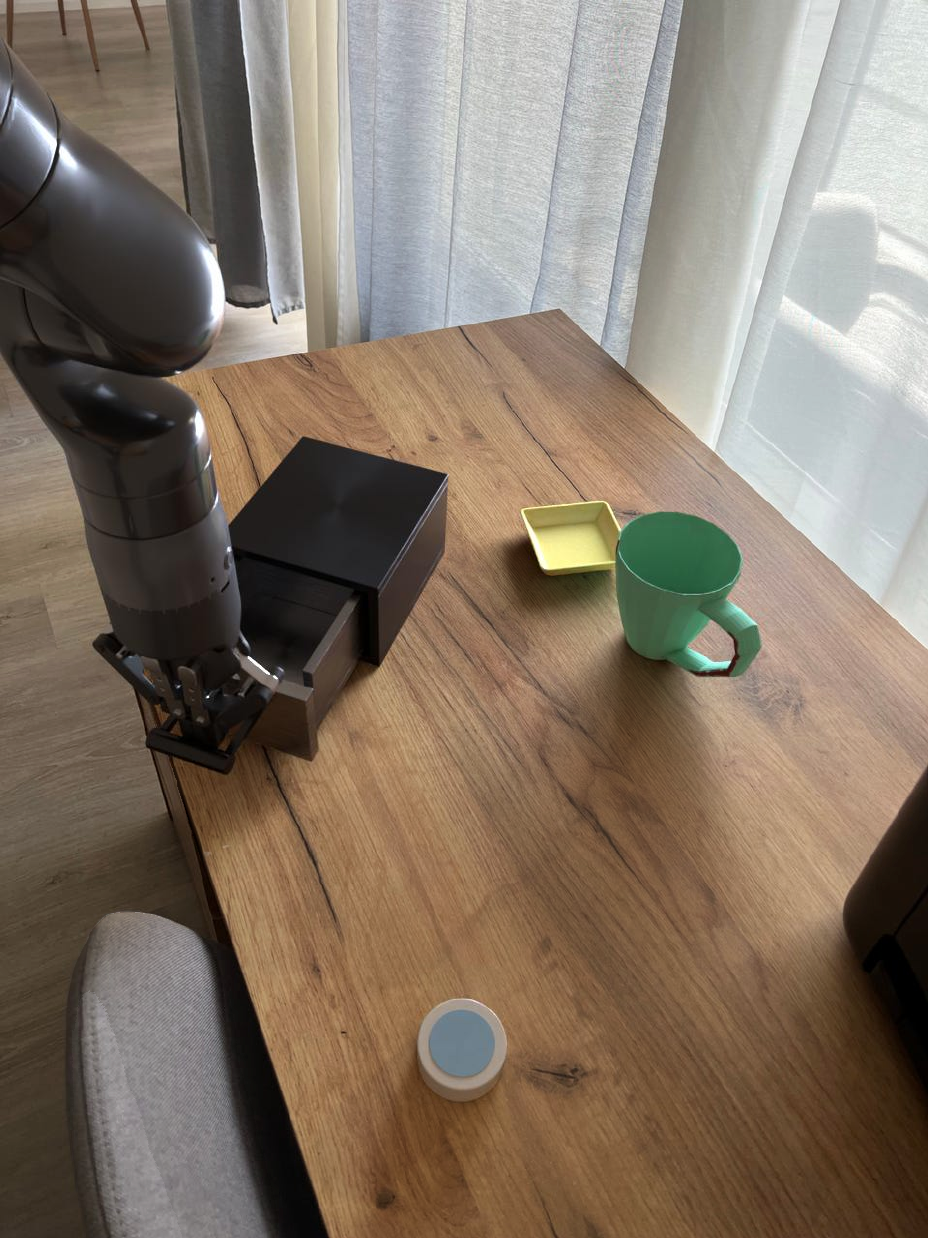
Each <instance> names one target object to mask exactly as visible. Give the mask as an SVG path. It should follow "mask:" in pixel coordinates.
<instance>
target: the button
mask: <svg viewBox="0 0 928 1238" xmlns="http://www.w3.org/2000/svg"><path fill="white" fill-rule="evenodd" d="M416 1040H417V1041H416V1042H417V1043H416V1063H417V1068H418V1071H419V1074H420V1076H421V1078H422V1080H423V1081H424V1083H425V1084H426V1085H427V1087H428V1088H429V1089H430V1090H431V1091H432V1092H434V1093H435V1094H436V1095H438V1096H439V1097H441V1098H443V1099H445V1100H448V1101H452V1102H460V1103H461V1102H470V1101H475V1100H477V1099H479V1098H482V1097H483V1096H485V1095H486V1094H488V1093H489V1092H490V1091H491V1090H492V1089H493V1088H494V1086H495V1085H496V1084H497V1083H498V1081H499V1080H500V1077H501V1075H502V1072H503V1069H504V1065H505V1061H506V1056H507V1050H508V1041H507V1035H506V1031H505V1027H504V1026H503V1023H502V1022H501V1020H500V1019H499V1017H498V1016H497V1014H495V1012H494V1011H492V1009H491V1008H489V1007H488V1006H486V1005H485V1004H484V1003H482V1002H479V1001H477V1000H474V999H469V998H453V999H449V1000H446V1001H444V1002H441V1003H439V1004H438V1005H436V1006H435V1007H434V1008H433V1009H432V1010H430V1011H429V1012H428V1013H427V1015H425V1017H424V1019H423V1021H422V1022H421V1025H420V1027H419V1030H418V1034H417V1039H416Z"/></svg>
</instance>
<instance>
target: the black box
mask: <svg viewBox="0 0 928 1238" xmlns="http://www.w3.org/2000/svg"><path fill="white" fill-rule="evenodd" d="M448 494H449V474H448V473H446V472H442V471H438V470H434V469H431V468H427V467H422V466H419V465H416V464H411V463H407V462H403V461H401V460H400V461H399V460H396V459H392V458H388V457H384V456H381V455H377V454H373V453H369V452H366V451H361V450H358V449H354V448H351V447H347V446H342V445H339V444H335V443H331V442H328V441H324V440H320V439H317V438H312V437H308V436H305V435H302V436H301V438H300V439H299V440H298V441H297V443H296V444H294V446H293V447H292V448H291V449H290V450H289V452H288V453H287V454H286V456H284V458H283V459H282V461H280V463H279V464H278V465H276V467H275V469H274V470H273V471H272V472H271V473H270V474H269V476H268V477H267V478H266V479H265V480H264V482H263V483H262V484H261V485H260V487H258V489H257V490H256V491H255V493H254V494H253V495H252V496H251V497H250V498H249V500H248V501H247V502H246V504H244V506H243V507H242V508H241V509H240V511H239V512H238V513H237V514H236V515H235V516H234V518H233V519H232V520H231V521H230V522H229V523H228V527H229V534H230V540H231V546H232V552H233V555H234V554H235V555H238V556H242V557H245V558H249V559H252V560H255V561H259V562H262V563H266V564H269V565H272V566H276V567H279V568H283V569H286V570H289V571H293V572H296V573H300V574H303V575H307V576H310V577H313V578H317V579H320V580H324V581H327V582H330V583H334V584H337V585H341V586H344V587H347V588H351V589H354V590H358V591H361V592H364V593H368V605H369V641H370V642H369V644H368V646H367V647H366V649H365V651H364V653H363V654H362V656H361V658H360V659H359V661H358V662H361V663H364V664H367V665H370V666H374V667H377V668H380V667H381V666H382V663H383V661H384V660H385V658H386V656H387V655H388V653H389V651H390V649H391V648H392V646H393V644H394V643H395V641H396V639H397V638H398V635H399V634H400V631H402V628H403V627H404V624H405V623H406V622H407V620H408V617H409V616H410V614H411V612H412V610H413V609H414V607H415V605H416V604H417V601H418V600H419V598H420V596H421V594H422V593H423V591H424V589H425V587H426V585H427V584H428V583H429V581H430V579H431V577H432V575H433V573H434V572H435V570H436V568H437V566H438V564H439V563H440V561H441V559H442V557H443V556H444V554H445V552H446V551H445V550H446V536H447V535H446V534H447V533H446V532H447V516H448V515H447V514H448V513H447V512H448V496H449V495H448Z"/></svg>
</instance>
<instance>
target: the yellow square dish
mask: <svg viewBox="0 0 928 1238" xmlns="http://www.w3.org/2000/svg"><path fill="white" fill-rule="evenodd" d="M519 513H520V517H521V519H522V522H523V524H524V527H525V530H526V532H527V535H528V538H529V540H530V543H531V546H532V549H533V551H534V555H535V557H536V559H537V562H538V565H539V567H540V570H541V571H542V572H543V574H545V575H546V576H551V577H553V576H563V575H571V574H580V573H587V572H588V573H589V572H597V571H598V572H599V571H606V570H607V571H608V570H615V552H616V546H617V541H618V536H619V532H620V531H621V530H622V529H621V528H620V526H619V524H618V521H617V519H616V517H615V515H614V512H613V510H612V509H611V506H610V504H609V503H608V502H606V501H603V500H595V501H585V502H576V503H568V504H567V503H566V504H555V505H546V506H534V507H525V508H521V509H520V511H519Z"/></svg>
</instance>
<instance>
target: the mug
mask: <svg viewBox="0 0 928 1238" xmlns="http://www.w3.org/2000/svg"><path fill="white" fill-rule="evenodd" d="M620 530H621V531H620V532H619V536H618V541H617V546H616V552H615V568H614V571H615V575H614V576H615V589H616V590H615V591H616V600H617V605H618V611H619V617H620V621H621V625H622V628H623V632H624V635H625V639H626V642H627V643H628V646H630V648H631V649H632V650H633V651H634V652H635V653H637V654H638V655H639V656H642V657H644V658H646V659H651V660H655V661H656V660H659V661H663V660H666V661H668V662H671V663H672V664H674V665H675V666H677V667H679V668H681V669H683V670H684V671H686V672H687V673H689V674H691V675H693V676H695V677H696V678H737V677H740V676H741V675H743V674H744V673H745V672H746V671H748V669H749V667H750V666H751V664H752V663H753V661H754V660H755V659H756V657H757V655H758V653H760V650H761V649H762V648H763V642H762V639H761V638H762V637H761V633H760V629H759V625H758V623H756V622H755V621H754V619H752V618H751V616H749V615H748V614H747V613H746V612H745V611H743V610H742V609H741V608H740V607H739V606H736V605H735V604H734V603H732V602H731V601H730V600H729V599H727V598H728V596H729V595H730V594H731V592H732V591H733V589H734V587H735V586H736V585H737V583H738V581H739V580H740V578H741V574H742V572H743V571H742V570H743V561H744V558H743V556H742V553H741V549H740V547H739V545H738V544H737V543H736V542H735V540H734V539H733V537H731V536H730V534H729V533H727V532H726V531H725V530H724V529H722V528H721V527H719V526H718V525H717V524H715V523H714V522H711V521H709V520H706V519H704V518H702V517H700V516H697V515H694V514H689V513H685V512H681V511H662V510H661V511H654V512H649V513H644V514H640V515H639V516H637V517H635V518H633V519H631V520H629V521H628V522H627V523H626V524H625V525H624V526H623V527H622V528H621V529H620ZM711 621H713V622H714V623H716V624H717V625H718V626H719V627H720V628H722V630H723V631H724V632H725V633H726V634H727V635H728V636H729V637H730V638H731V639H732V643H733V650H734V654H733V656H732V659H731V660H729V661H715V660H713V659H711V658H709V657H706V656H704V655H703V654H701V653H699V652H697V651H695V650H693V649H691V648H689V647H688V646H689V645H690V644H691V643H692V642H693V641H694V640H695V639H696V638H697V637H698V636H699V634H700V633H702V631H703V630H704V629H705V628H706V627H707V626H708V625H709V623H710V622H711Z"/></svg>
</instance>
